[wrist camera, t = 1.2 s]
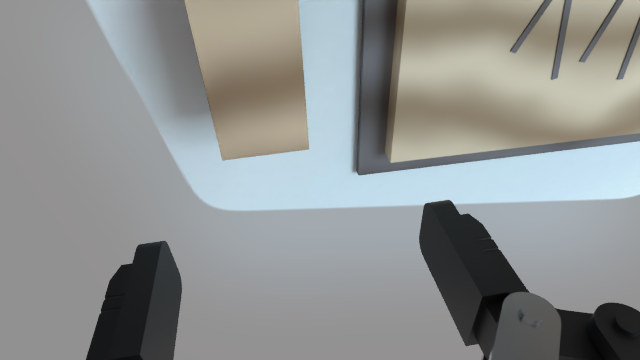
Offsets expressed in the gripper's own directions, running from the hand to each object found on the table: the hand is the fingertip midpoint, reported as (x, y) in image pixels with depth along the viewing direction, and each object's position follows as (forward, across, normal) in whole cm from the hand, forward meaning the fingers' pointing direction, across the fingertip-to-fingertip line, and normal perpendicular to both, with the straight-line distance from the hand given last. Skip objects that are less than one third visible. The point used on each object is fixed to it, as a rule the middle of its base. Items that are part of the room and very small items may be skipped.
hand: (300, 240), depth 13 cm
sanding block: (+17, +1, -1) cm, 17 cm away
